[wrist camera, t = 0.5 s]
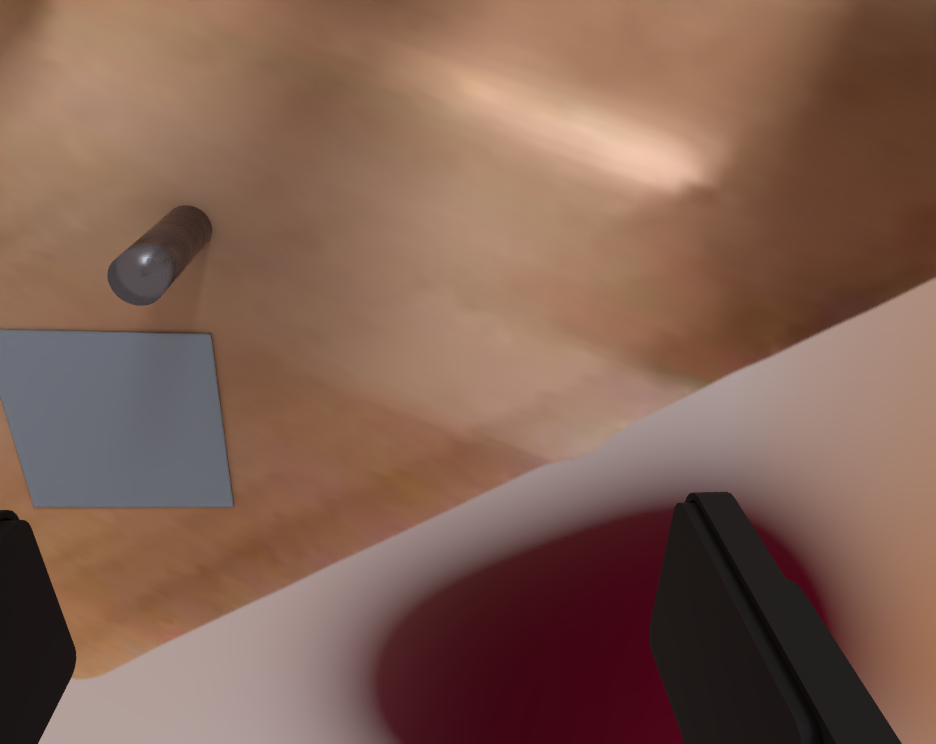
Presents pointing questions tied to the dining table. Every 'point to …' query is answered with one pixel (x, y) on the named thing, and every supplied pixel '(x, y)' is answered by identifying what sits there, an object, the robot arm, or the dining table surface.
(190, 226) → the post
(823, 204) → the dining table surface
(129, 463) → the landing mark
